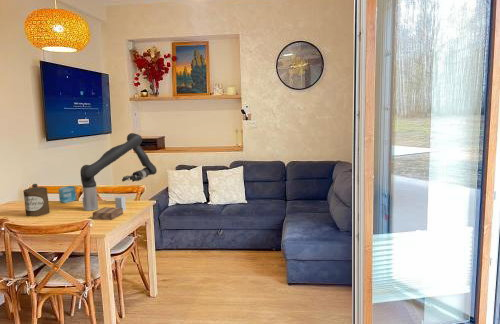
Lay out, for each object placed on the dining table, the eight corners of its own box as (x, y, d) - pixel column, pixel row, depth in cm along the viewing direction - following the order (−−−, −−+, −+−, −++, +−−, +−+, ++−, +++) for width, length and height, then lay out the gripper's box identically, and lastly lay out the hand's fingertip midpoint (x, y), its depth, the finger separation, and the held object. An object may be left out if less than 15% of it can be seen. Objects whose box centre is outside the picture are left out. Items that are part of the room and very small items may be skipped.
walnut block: (93, 219, 249) (92, 212, 249) (105, 214, 263) (104, 207, 262) (111, 220, 247) (111, 213, 246) (123, 214, 260) (122, 207, 259)
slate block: (115, 211, 268) (114, 197, 267) (119, 209, 273) (118, 196, 272) (122, 211, 267) (121, 197, 266) (125, 209, 272) (124, 196, 271)
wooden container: (21, 217, 258) (18, 186, 255) (32, 211, 273) (29, 182, 270) (43, 216, 259) (40, 185, 256) (53, 210, 274) (50, 181, 271)
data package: (63, 203, 295) (62, 188, 293) (59, 203, 297) (58, 188, 295) (76, 200, 306) (75, 185, 304) (72, 199, 308) (71, 185, 306)
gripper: (130, 170, 295) (118, 175, 279) (146, 170, 291) (135, 175, 276) (132, 179, 296) (119, 185, 281) (147, 179, 292) (136, 185, 277)
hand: (127, 180), depth 278 cm, fingers open, 8 cm apart
